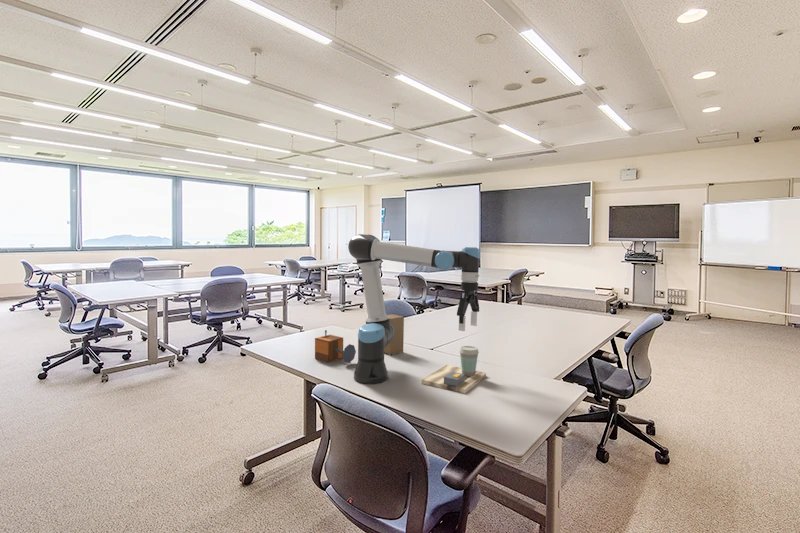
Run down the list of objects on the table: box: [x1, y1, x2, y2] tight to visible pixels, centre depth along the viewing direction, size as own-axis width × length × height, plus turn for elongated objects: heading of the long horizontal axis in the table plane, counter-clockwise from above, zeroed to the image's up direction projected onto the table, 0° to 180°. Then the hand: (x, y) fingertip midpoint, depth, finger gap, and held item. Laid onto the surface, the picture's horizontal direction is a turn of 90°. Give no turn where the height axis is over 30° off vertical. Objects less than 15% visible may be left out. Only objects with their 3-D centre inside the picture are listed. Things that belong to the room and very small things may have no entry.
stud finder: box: [444, 372, 465, 387], centre depth 165 cm, size 6×8×3 cm
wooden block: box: [384, 313, 405, 356], centre depth 215 cm, size 10×10×20 cm
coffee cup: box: [459, 345, 479, 376], centre depth 175 cm, size 9×8×12 cm
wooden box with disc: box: [314, 329, 357, 364], centre depth 199 cm, size 11×20×14 cm, turn 52°
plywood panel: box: [421, 364, 487, 394], centre depth 173 cm, size 20×25×2 cm
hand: (467, 328), depth 176 cm, fingers open, 13 cm apart
